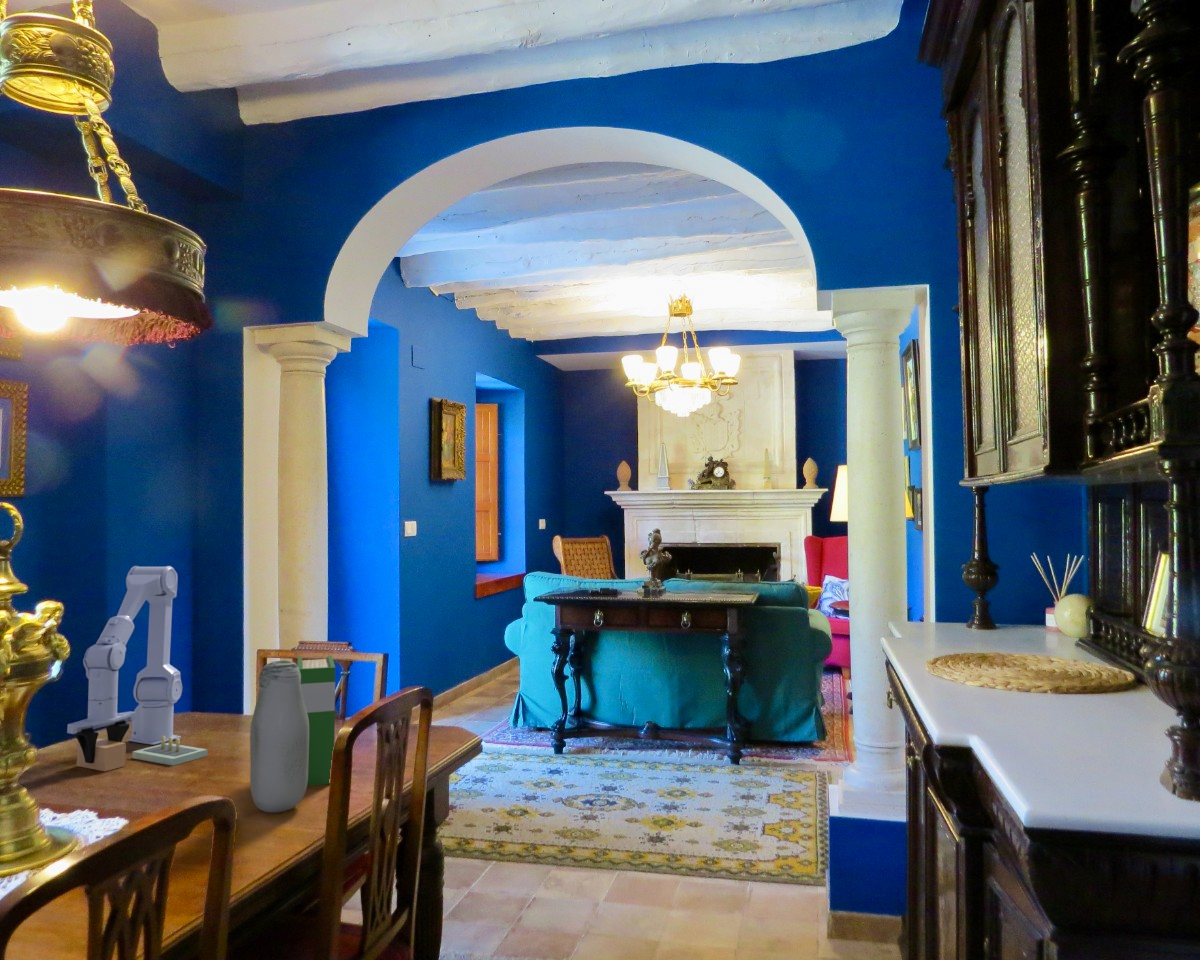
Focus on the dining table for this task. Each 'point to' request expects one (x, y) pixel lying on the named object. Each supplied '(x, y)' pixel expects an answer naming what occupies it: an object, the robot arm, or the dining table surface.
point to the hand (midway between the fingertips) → (101, 759)
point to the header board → (169, 753)
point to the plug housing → (104, 755)
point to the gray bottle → (279, 739)
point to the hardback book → (319, 715)
